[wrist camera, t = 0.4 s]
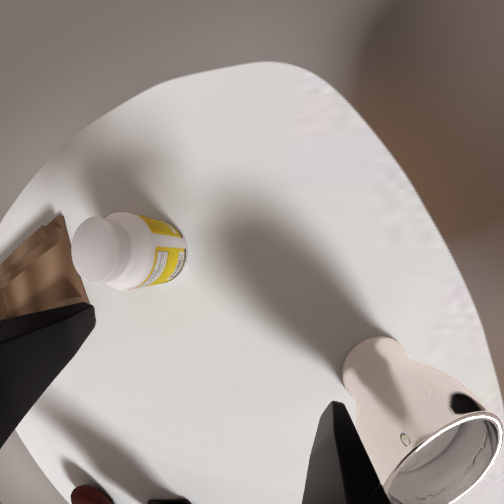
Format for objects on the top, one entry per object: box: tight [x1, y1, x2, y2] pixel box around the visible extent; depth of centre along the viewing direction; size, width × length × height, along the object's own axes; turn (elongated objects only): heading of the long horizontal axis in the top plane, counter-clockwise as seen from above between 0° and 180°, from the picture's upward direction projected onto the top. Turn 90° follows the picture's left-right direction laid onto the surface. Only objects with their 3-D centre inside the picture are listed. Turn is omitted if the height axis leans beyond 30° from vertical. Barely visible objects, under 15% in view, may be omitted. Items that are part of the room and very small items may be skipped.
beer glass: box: [342, 336, 503, 504], centre depth 15 cm, size 7×7×15 cm
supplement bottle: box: [71, 212, 188, 290], centre depth 20 cm, size 5×5×10 cm
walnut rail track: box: [0, 216, 96, 320], centre depth 26 cm, size 17×12×4 cm
